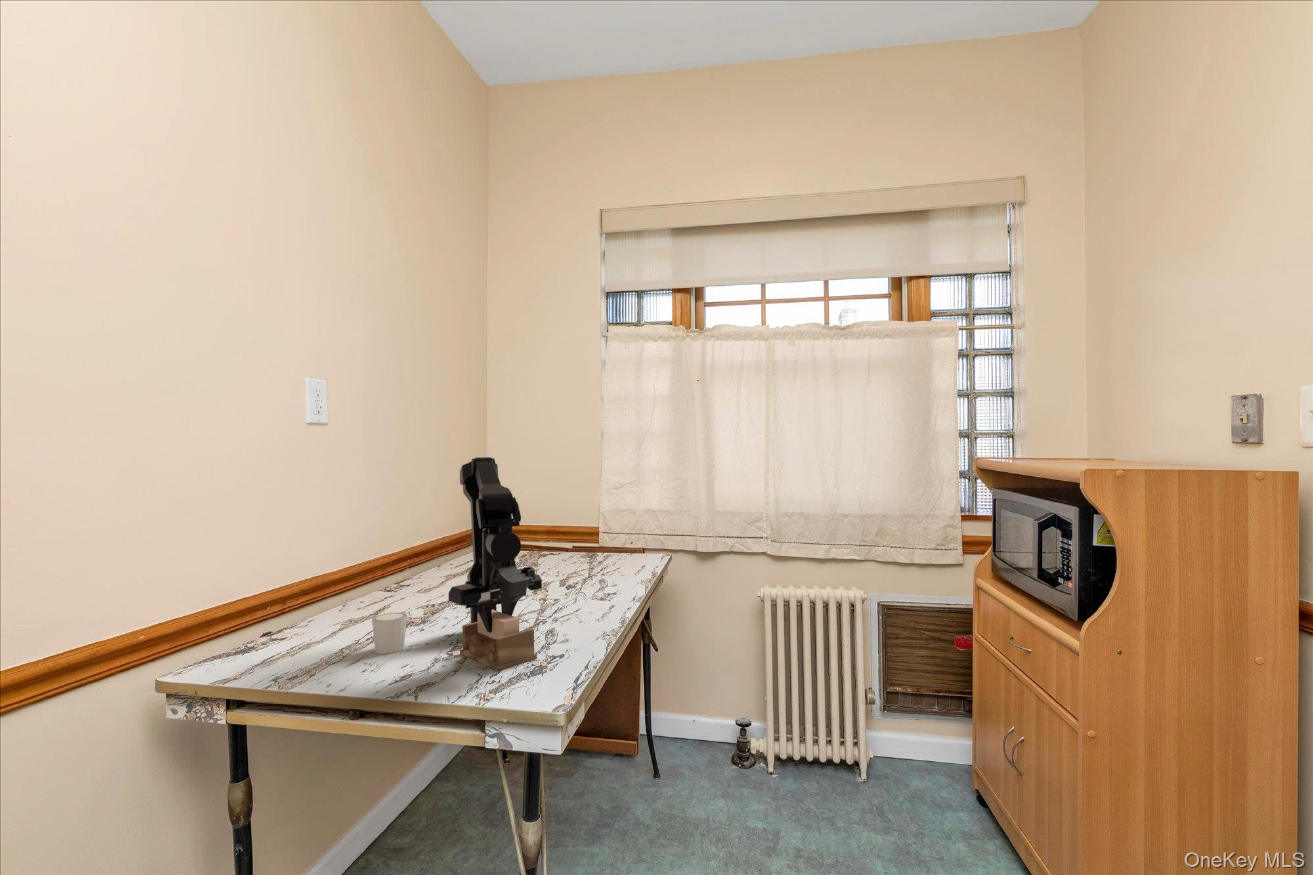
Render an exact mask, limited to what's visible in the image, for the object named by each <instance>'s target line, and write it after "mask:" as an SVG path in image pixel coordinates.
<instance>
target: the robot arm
mask: <svg viewBox="0 0 1313 875" xmlns="http://www.w3.org/2000/svg"><path fill="white" fill-rule="evenodd" d="M460 467H461V468H460V469H459V484H460V486H461V485H462V494H464V497H466V498H467V500H468V501H469V503H470V504H469V505H470V516H471V517H470V518H471V520H470V521H471V522H470V523H471V538H472V539H471V540H472V556H473V557H472V559H473V564H472V566H471V568H470V569H469V571H468V573H467V575H466V576H467V577H466V578H467V579H466V581H465V582H464V584H459V585H455V586H451V587H450V589H449V591H448V602H450V603H454V604H457V605H460V606H464V607H465V609H470V616H469V618H470V622H469V623H474V622H478V615H477V613H479V615H480V617H481V619H482V621H483V624H484V626H485V628H486V630H487V632H489V633H490V632H492V610H495V611H498V610H497V605H500V606H501V608H500V609H501V613H505V614H508V615H511V616H513V614H514V611H515V608H516V606H517V604H518V602H519V601H520V599H521V598H523V597H525V596H526V595H527V590H529V591H531V592H532V591H535V590H536V591H537V590H539V589H541V590H542V589H543V579H542V577H541V576H540V574H536V571H535V568H534V567H533V566H532V565H530V566H526V567H525V566H524V567H523V568H517V565H516V564H517V563H516V558H517V557H518V556H519V554H520V552H521V549H522V548H521V547H522V543H521V540H520V538H519V537H518V536H519V535H517V534H516V533H514V532H513V527H520V524H521V521H522V515H521V511H520V507H519V506H520V505H519V502H518V501H517V498H516V497H515V496H513V493H512V491H511V490H510V488H508V487H505V486H503V485H502V484H501V481H500V477H499V466H498V463H497V462H496V460H495V457H492V456H490V457H489V456H488V457H487V456H486V457H485V456H483V457H474V458H472V459H471V461H469V462H466V463H464V464H461V466H460Z"/></svg>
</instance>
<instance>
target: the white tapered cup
mask: <svg viewBox="0 0 1313 875" xmlns="http://www.w3.org/2000/svg"><path fill="white" fill-rule="evenodd" d="M407 618H408V614H406V613H404V612H388V613H383V614H379V615H376V616H373V617H372V618H371V623H372V624H371V625H372V632H373V633H372V634H373V642H374V650H375V653H376V654H382V655H384V654H394V653H397V652H400V651H402V650H404V648H405V643H406V642H405V640H406V628H407Z"/></svg>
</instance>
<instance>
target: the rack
mask: <svg viewBox="0 0 1313 875" xmlns="http://www.w3.org/2000/svg"><path fill="white" fill-rule="evenodd" d="M459 654H460V655H462V656H464V657H466V658H469V659H470V660H473V661H475V662H478V663H480V664H482V665H485V666H487V667H488V668H491V669H494V670H495V671H497V672H498V671H500V670H505V669H508V668H510V667H513V666H517V665H520V664H523V663H525V662H530V661H533V660H536V659H538V654H537V653H535V629H533V628H529V629H525V630H522V631H519V632H517V633H514V634H510V635H506V636H503V637H499V638H496V639H494V638H491V637H489V636H486V635H483V634H481V633H478V622H474V623H471V622H469V623H467V624H463V625H462V649H459Z"/></svg>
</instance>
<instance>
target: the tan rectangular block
mask: <svg viewBox="0 0 1313 875" xmlns="http://www.w3.org/2000/svg"><path fill="white" fill-rule="evenodd" d="M477 615H478V633H481V634H483V635H486V636H489V637H491V638H494V639H496V638H499V637H503V636H506V635H510V634H514V633H517V632H520V618H519V617H517V616H513V615H512V616H511V615H508V614H505V613H502V611H499V610H497V611H495V610H492V632H490V633H489V632H487V630H486V628H485V626H484V624H483V621H482V619H481V617H480V615H479V613H477Z"/></svg>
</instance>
